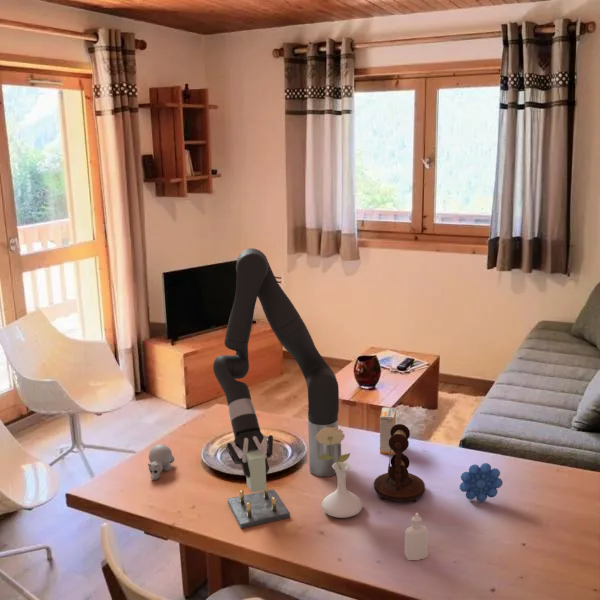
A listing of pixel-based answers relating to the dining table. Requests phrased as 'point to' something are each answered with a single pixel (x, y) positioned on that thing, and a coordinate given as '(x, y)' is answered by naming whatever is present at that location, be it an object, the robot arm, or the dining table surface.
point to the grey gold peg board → (258, 508)
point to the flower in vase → (341, 499)
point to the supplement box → (386, 428)
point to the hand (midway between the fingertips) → (257, 474)
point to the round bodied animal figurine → (160, 460)
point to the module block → (256, 471)
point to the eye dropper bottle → (416, 540)
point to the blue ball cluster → (480, 482)
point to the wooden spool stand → (399, 471)
